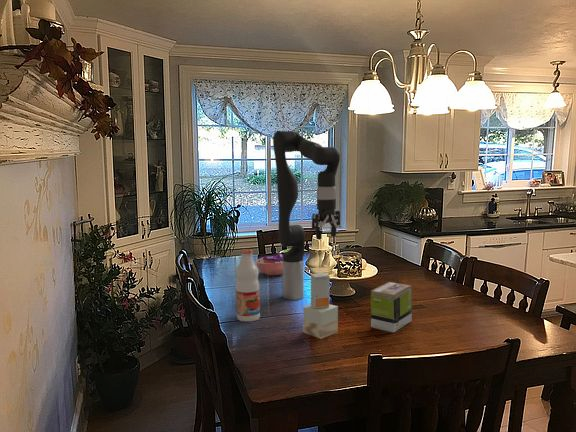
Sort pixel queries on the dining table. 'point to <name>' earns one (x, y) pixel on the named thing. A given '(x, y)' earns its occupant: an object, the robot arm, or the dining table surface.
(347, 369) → the dining table surface
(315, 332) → the lower block
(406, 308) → the tea box
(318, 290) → the skincare box
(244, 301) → the fruit juice
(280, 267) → the cell model
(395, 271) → the dining table surface
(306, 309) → the upper block
